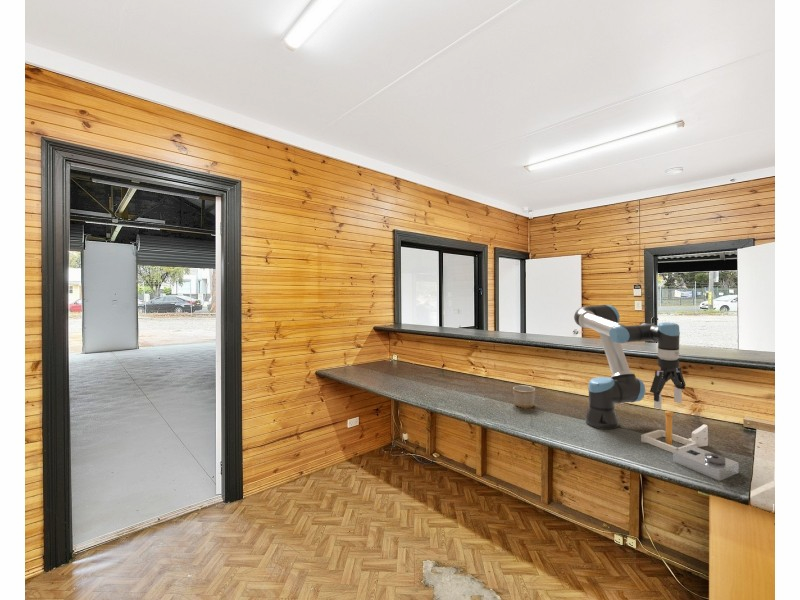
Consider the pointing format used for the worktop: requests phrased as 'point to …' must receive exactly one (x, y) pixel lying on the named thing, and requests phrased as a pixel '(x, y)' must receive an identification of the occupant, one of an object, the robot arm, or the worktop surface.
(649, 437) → the tray
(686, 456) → the block
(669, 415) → the lock pin
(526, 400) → the planter
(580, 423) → the worktop surface
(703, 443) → the white wedge bracket
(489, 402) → the worktop surface
